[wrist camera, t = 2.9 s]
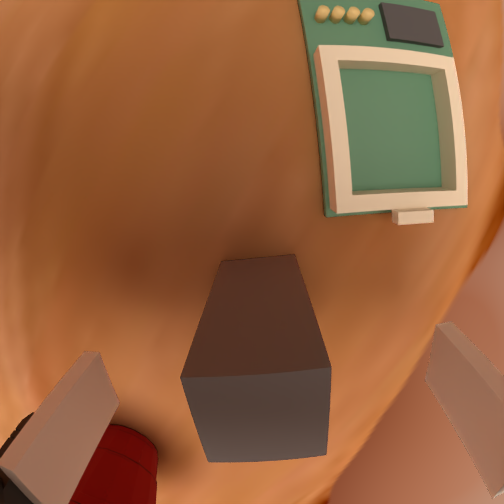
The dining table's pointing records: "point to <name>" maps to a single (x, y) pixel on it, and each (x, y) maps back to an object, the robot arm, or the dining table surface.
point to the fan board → (385, 108)
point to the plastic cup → (119, 470)
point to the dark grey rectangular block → (259, 366)
